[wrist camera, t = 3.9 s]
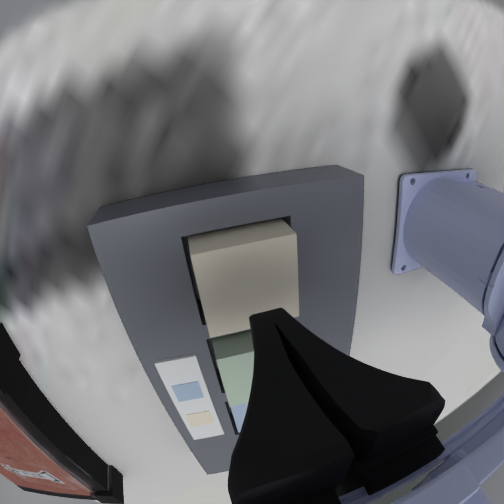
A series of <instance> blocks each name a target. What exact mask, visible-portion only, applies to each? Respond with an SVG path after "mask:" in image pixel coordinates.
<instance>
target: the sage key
mask: <svg viewBox="0 0 504 504" xmlns="http://www.w3.org/2000/svg"><path fill="white" fill-rule="evenodd" d="M211 339H212V344H213V348H214V353H215V357H216V361H217V365H218V368H219V372H220V375H221V379H222V382H223V386H224V389H225V393H226V396H227V399H228V403H229V406H230V407H232V406H236V405H240V404H244V403H248V402H249V397H250V392H251V385H252V378H253V367H254V348H253V342H252V335H251V330H247V331H242V332H238V333H234V334H229V335H225V336H221V337H216V338H211Z"/></svg>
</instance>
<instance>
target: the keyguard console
mask: <svg viewBox="0 0 504 504" xmlns="http://www.w3.org/2000/svg"><path fill="white" fill-rule="evenodd" d="M363 205H364V175H362V174H359V173H356V172H354V171H351V170H349V169H346V168H344V167H341V166H338V165H332V166H323V167H314V168H306V169H298V170H290V171H283V172H276V173H269V174H262V175H255V176H249V177H243V178H237V179H231V180H225V181H219V182H214V183H208V184H203V185H198V186H192V187H187V188H182V189H177V190H172V191H168V192H163V193H158V194H154V195H149V196H145V197H140V198H136V199H131V200H127V201H123V202H119V203H115V204H111V205H107V206H103V207H100V208H99V210H98V211H97V213H96V214H95V215H94V217H93V218H92V220H91V221H90V222H89V224H88V225H87V227H88V231H89V234H90V237H91V240H92V243H93V247H94V250H95V253H96V256H97V258H98V261H99V264H100V267H101V270H102V273H103V275H104V278H105V281H106V283H107V286H108V289H109V291H110V294H111V296H112V299H113V301H114V304H115V306H116V309H117V311H118V314H119V316H120V318H121V321H122V323H123V325H124V328H125V330H126V332H127V334H128V336H129V339H130V341H131V343H132V345H133V347H134V349H135V352H136V354H137V356H138V358H139V360H140V362H141V364H142V366H143V368H144V370H145V372H146V374H147V376H148V378H149V380H150V381H151V383H152V385H153V387H154V389H155V391H156V393H157V395H158V396H159V398H160V400H161V402H162V404H163V405H164V407H165V409H166V411H167V412H168V414H169V416H170V417H171V419H172V421H173V423H174V424H175V426H176V427H177V429H178V431H179V432H180V434H181V436H182V437H183V439H184V440H185V442H186V444H187V445H188V447H189V448H190V450H191V451H192V453H193V454H194V456H195V457H196V459H197V460H198V462H199V463H200V465H201V466H202V467H203V469H204V470H205V472H206V473H207V475H208V474H214V473H219V472H224V471H229V468H230V462H231V455H232V453H233V450H234V448H235V445H236V442H237V440H238V437H239V434H240V432H239V433H238V430H237V427H236V423H235V420H234V417H233V414H232V410H231V407H230V406H229V403H228V399H227V396H226V393H225V389H224V386H223V382H222V379H221V375H220V372H219V368H218V365H217V361H216V357H215V353H214V348H213V344H212V339H211V338H210V335H209V331H208V327H207V324H206V320H205V316H204V312H203V308H202V304H201V299H200V295H199V291H198V287H197V283H196V278H195V274H194V270H193V265H192V261H191V256H190V250H189V243H188V236H193V235H198V234H203V233H208V232H213V231H218V230H223V229H228V228H233V227H238V226H243V225H249V224H254V223H259V222H264V221H270V220H275V219H280V218H282V219H283V220H284V221H285V222H286V223H287V225H288V226H289V227H290V228H291V229H292V230H293V231H294V232H295V233H296V234H297V257H298V287H299V316H298V317H295V319H296V320H297V321H298V322H300V323H301V324H302V325H303V326H305V327H306V328H307V329H308V330H310V331H311V332H312V333H314V334H315V335H316V336H318V337H319V338H321V339H322V340H324V341H325V342H326V343H328V344H330V345H331V346H333V347H334V348H336V349H338V350H339V351H341V352H343V353H344V354H346V355H348V356H349V355H350V349H351V342H352V335H353V328H354V320H355V312H356V304H357V295H358V285H359V274H360V262H361V248H362V230H363ZM247 330H251V329H247ZM247 330H243V331H247ZM239 332H242V331H239ZM235 333H238V332H235ZM230 334H234V333H230ZM226 335H229V334H226ZM221 336H225V335H221ZM221 336H217V337H221ZM212 338H216V337H212Z"/></svg>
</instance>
